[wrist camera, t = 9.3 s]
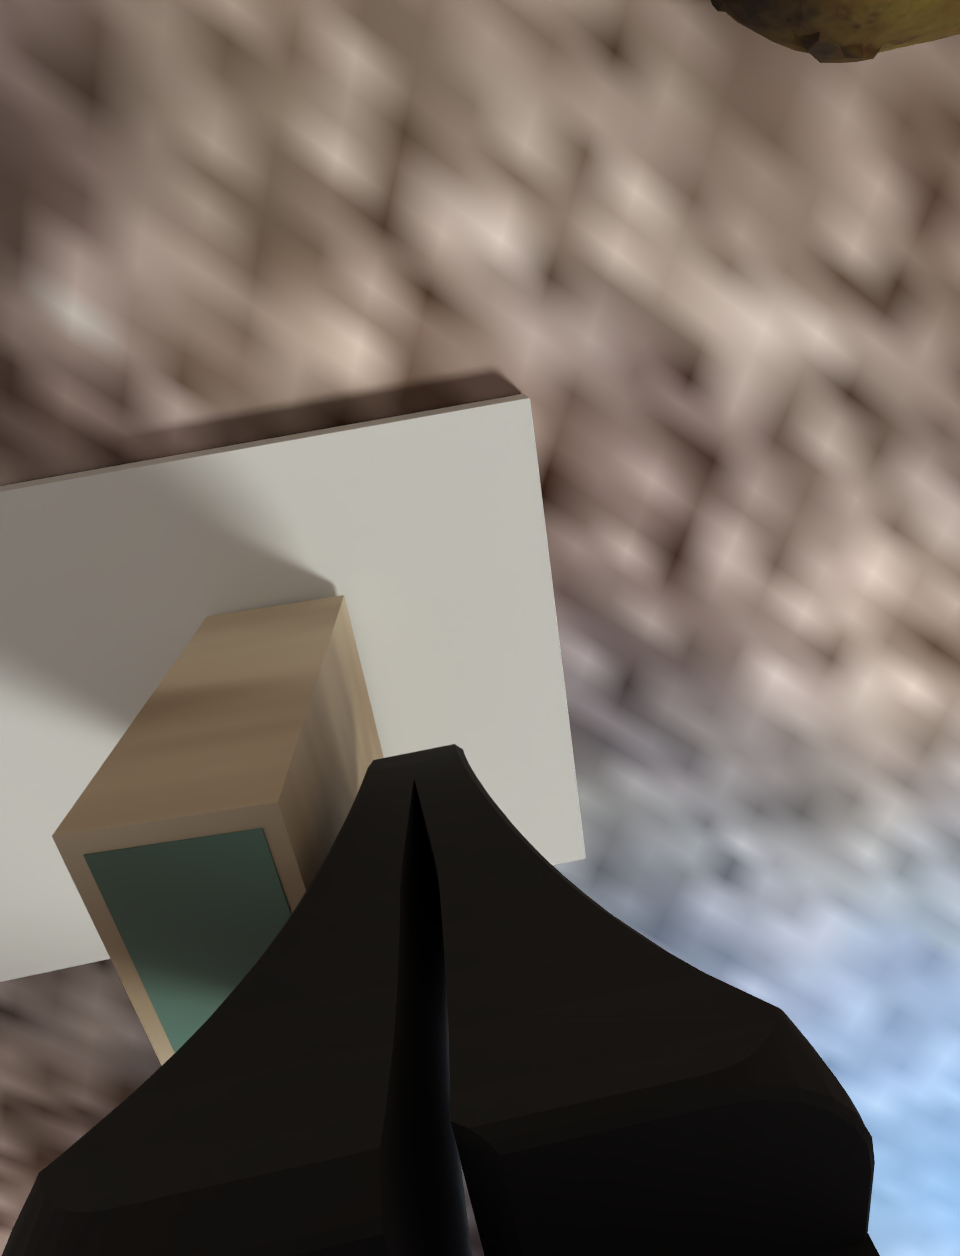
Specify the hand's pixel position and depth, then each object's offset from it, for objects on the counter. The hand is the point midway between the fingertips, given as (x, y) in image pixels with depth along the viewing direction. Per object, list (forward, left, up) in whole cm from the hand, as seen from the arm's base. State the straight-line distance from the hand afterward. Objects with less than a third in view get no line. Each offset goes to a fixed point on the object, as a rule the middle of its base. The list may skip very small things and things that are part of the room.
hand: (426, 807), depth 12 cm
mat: (0, +4, -4) cm, 6 cm away
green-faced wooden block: (0, +2, -4) cm, 4 cm away
